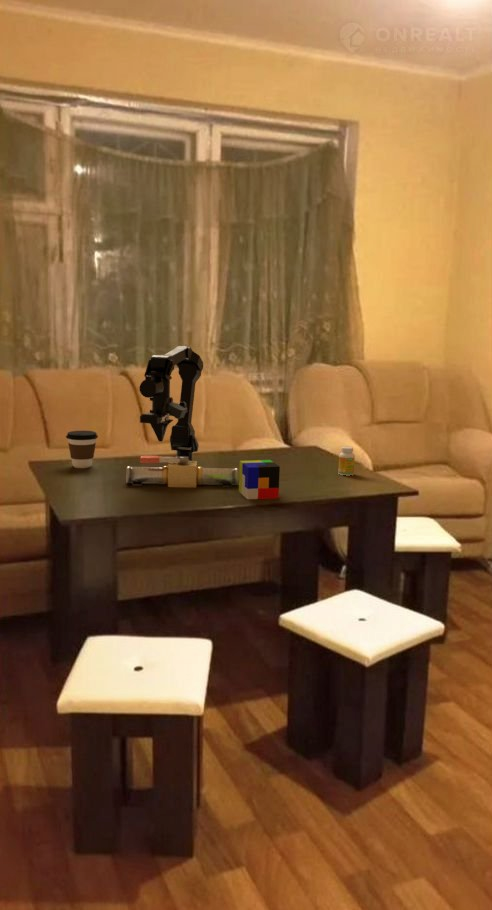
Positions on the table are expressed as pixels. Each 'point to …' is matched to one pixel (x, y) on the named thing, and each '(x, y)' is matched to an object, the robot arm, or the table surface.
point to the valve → (182, 475)
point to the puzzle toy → (259, 479)
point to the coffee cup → (82, 447)
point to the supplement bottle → (346, 461)
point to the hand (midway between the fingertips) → (160, 441)
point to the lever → (163, 459)
